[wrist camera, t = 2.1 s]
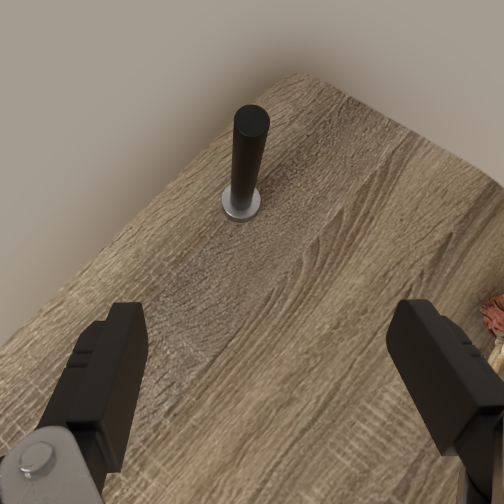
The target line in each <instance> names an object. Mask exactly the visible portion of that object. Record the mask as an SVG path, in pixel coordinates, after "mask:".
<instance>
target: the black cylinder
mask: <svg viewBox="0 0 504 504" xmlns="http://www.w3.org/2000/svg"><path fill="white" fill-rule="evenodd" d="M269 126H270V118H269V115H268V114H267V112H266V111H265V110H264V109H263V108H261V107H260V106H257V105H246V106H243V107H241V108H240V109H239V110H238V111H237V112H236V114H235V116H234V130H233V151H232V171H231V184H230V185H228V186H227V187H226V188H225V190H224V191H223V193H222V197H221V205H222V210H223V213H224V214H225V216H226V217H227V218H228V219H230V220H231V221H234V222H237V223H244V222H248V221H250V220H251V219H253V218H254V217H255V216H256V214H257V212H258V210H259V206H260V202H261V199H260V194H259V192H258V190H257V189H256V188H255V186H256V182H257V177H258V173H259V169H260V165H261V160H262V156H263V152H264V147H265V143H266V139H267V135H268V130H269Z"/></svg>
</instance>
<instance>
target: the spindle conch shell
mask: <svg viewBox="0 0 504 504" xmlns="http://www.w3.org/2000/svg"><path fill="white" fill-rule="evenodd" d="M499 290H500V289H499ZM497 291H498V290H497ZM494 293H495V292H494ZM494 293H493V294H494ZM493 294H492V295H493ZM486 300H487V299H486ZM482 301H483V300H482ZM486 303H487V304H483V305H482V306H481V307H480V311H481V312H482V313H484V314H486V315H487V316H484V319H483V324H484V325H485V326H486V327H487V329H488V330H489V333H491V334H492V335H493V337H495V338H497V340H495V345H496V346H495V348H494V350H493V351H492V353H491V355H490V357H489V359H488V363H489V364H490V366H491V367H492V368H493V369H494V371H495V372H496V373H498V370H499V368H500V366H501V364H502V362H503V361H504V293H503V295H502V296H499V293H498V295H497V294H496V296H494V297H491V299H489V300H488V301H486ZM478 304H479V303H478ZM478 304H477V305H478ZM474 307H475V306H474ZM484 307H485V308H486V309H483V308H484ZM472 311H473V310H472ZM488 323H490V324H491V325H490V324H488ZM491 329H493V331H494V333H495V334H494V333H493V331H492V330H491ZM491 334H490V335H491ZM481 356H482V357H484V358H486V357H485V356H484V355H482V354H481Z"/></svg>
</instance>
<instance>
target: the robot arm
mask: <svg viewBox="0 0 504 504" xmlns="http://www.w3.org/2000/svg"><path fill="white" fill-rule="evenodd" d="M386 344H387V349H388V352H389V354H390V356H391V358H392V360H393V362H394V364H395V366H396V368H397V370H398V372H399V374H400V376H401V378H402V379H403V381H404V383H405V385H406V387H407V389H408V391H409V393H410V395H411V397H412V399H413V401H414V403H415V405H416V407H417V409H418V411H419V413H420V415H421V417H422V419H423V421H424V423H425V425H426V427H427V429H428V431H429V433H430V435H431V437H432V439H433V440H434V442H435V444H436V446H437V448H438V450H439V452H440V454H441V456H458V455H459V457H460V459H461V461H462V463H463V465H462V466H461V468H460V471H459V478H458V487H457V495H456V504H504V382H503V381H502V380H501V378H500V377H499V376H498V374H497V373H496V372H495V371H494V369H493V368H492V367H491V366H490V364H489V363H488V362H487V361H486V359H485V358H484V357H482V356H481V353H480V352H479V350H478V349H477V348H476V347H475V345H472V342H471V340H470V339H469V338H468V336H467V335H466V334H465V333H464V331H463V330H462V329H461V328H460V327H459V326H458V325H456V324H455V323H454V322H452V321H451V320H450V319H448V318H447V317H446V316H441V315H440V314H439V313H438V311H437V310H436V309H435V307H434V306H433V305H432V303H431V302H430V301H428V300H426V299H416V300H401V301H400V302H399V303H398V305H397V308H396V310H395V313H394V316H393V318H392V321H391V323H390V326H389V329H388V331H387V335H386ZM147 355H148V335H147V329H146V324H145V318H144V313H143V307H142V304H141V303H140V302H127V303H114V304H113V305H112V307H111V309H110V311H109V314H108V316H107V319H106V321H94V322H93V323H92V324H91V325H90V326H89V327H88V328H87V329H86V330H85V331H84V332H83V333H82V334H81V335H80V336H79V338H78V341H77V343H76V345H75V347H74V349H73V354H71V356H70V358H69V360H68V362H67V364H66V368H64V371H63V373H62V375H61V377H60V379H59V381H58V383H57V385H56V388H55V390H54V392H53V394H52V396H51V398H50V400H49V403H48V405H47V407H46V409H45V411H44V413H43V415H42V418H41V420H40V422H39V423H38V425H37V427H36V428H35V430H34V431H33V432H31V433H29V434H28V435H26V436H24V437H23V438H22V439H20V440H19V441H18V442H17V443H16V444H15V445H14V446H13V447H12V448H11V449H10V450H9V451H8V453H7V454H6V455H4V456H2V457H0V504H105V502H104V499H103V497H102V495H101V494H102V490H103V487H104V483H105V479H106V475H107V473H116V472H121V468H122V464H123V460H124V455H125V451H126V447H127V442H128V438H129V434H130V429H131V425H132V421H133V417H134V412H135V408H136V404H137V399H138V395H139V391H140V386H141V382H142V378H143V373H144V369H145V365H146V361H147Z"/></svg>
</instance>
